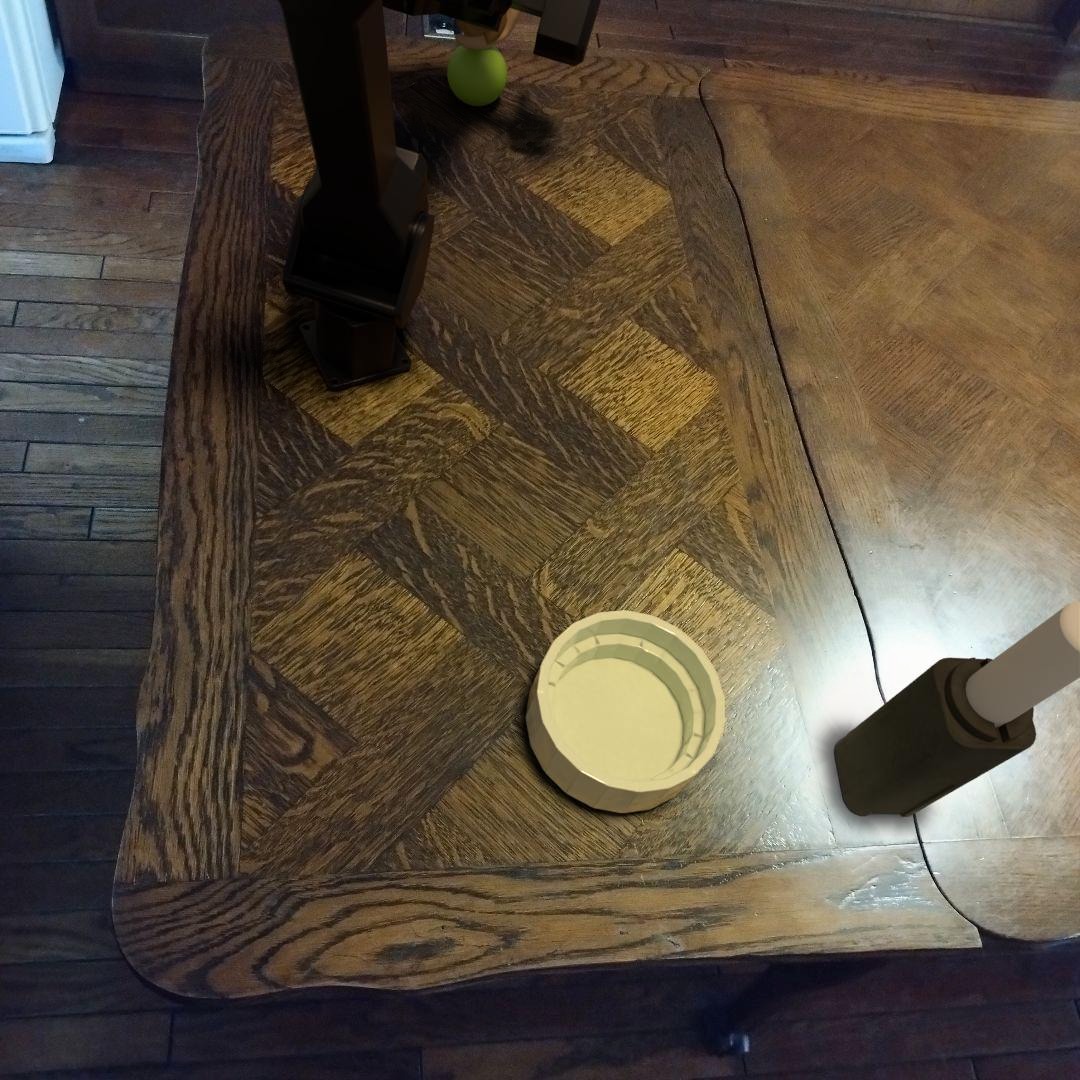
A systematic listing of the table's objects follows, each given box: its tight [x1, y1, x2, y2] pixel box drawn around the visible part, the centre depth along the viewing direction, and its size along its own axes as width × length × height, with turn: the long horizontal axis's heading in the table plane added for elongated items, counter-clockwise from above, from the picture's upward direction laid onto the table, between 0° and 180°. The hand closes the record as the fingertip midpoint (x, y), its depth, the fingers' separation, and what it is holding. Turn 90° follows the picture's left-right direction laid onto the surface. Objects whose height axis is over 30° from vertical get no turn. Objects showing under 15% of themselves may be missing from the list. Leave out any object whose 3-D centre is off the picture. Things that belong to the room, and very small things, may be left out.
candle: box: [834, 600, 1080, 818], centre depth 52 cm, size 5×5×25 cm
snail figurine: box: [446, 8, 522, 107], centre depth 87 cm, size 5×6×12 cm
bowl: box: [525, 609, 726, 814], centre depth 60 cm, size 11×11×5 cm
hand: (491, 21), depth 87 cm, fingers open, 9 cm apart
